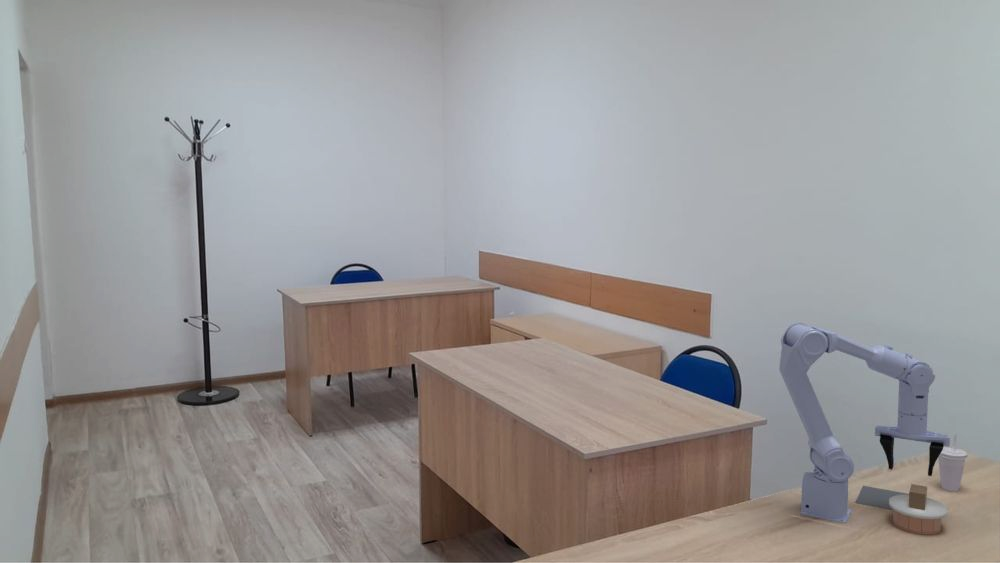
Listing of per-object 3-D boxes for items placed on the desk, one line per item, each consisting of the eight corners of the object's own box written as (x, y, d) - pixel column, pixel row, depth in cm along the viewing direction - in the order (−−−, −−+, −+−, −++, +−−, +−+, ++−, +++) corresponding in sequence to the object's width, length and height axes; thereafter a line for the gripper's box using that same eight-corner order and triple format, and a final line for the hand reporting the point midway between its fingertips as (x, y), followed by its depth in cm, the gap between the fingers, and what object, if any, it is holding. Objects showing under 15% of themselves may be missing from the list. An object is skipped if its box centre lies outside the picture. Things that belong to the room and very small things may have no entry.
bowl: (890, 529, 157) (891, 511, 156) (895, 514, 164) (896, 497, 164) (939, 539, 152) (940, 521, 151) (942, 523, 159) (942, 505, 159)
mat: (855, 504, 170) (855, 502, 170) (862, 487, 180) (863, 485, 180) (913, 515, 164) (914, 513, 163) (918, 497, 173) (918, 495, 173)
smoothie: (964, 497, 173) (966, 439, 171) (933, 491, 177) (935, 435, 175) (966, 488, 178) (969, 432, 177) (936, 482, 182) (938, 428, 180)
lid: (885, 511, 156) (886, 492, 156) (891, 494, 166) (892, 476, 165) (945, 523, 150) (946, 503, 150) (948, 504, 159) (949, 485, 159)
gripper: (951, 412, 161) (949, 471, 163) (878, 403, 169) (877, 460, 171) (949, 420, 155) (947, 482, 157) (874, 411, 164) (872, 469, 165)
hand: (910, 471), depth 163 cm, fingers open, 7 cm apart
